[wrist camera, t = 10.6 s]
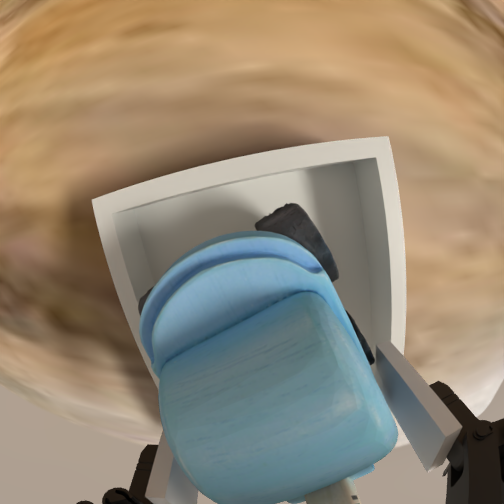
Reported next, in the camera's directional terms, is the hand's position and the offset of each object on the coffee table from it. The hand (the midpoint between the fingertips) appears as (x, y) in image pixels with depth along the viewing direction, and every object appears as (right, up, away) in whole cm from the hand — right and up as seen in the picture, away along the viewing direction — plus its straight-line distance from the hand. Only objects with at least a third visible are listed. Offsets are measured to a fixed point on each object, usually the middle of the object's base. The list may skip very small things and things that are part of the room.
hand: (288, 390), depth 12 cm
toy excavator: (0, +1, +4) cm, 4 cm away
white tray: (0, +2, +7) cm, 7 cm away
